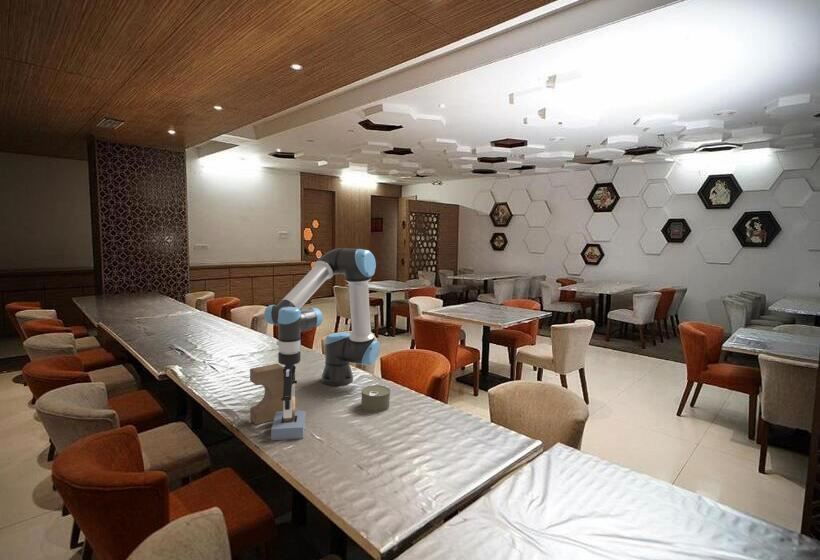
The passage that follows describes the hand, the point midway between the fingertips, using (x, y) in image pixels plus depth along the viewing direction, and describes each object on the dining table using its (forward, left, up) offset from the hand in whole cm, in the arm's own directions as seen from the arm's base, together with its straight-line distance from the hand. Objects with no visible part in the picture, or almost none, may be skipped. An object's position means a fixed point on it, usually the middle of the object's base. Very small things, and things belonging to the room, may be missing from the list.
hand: (289, 409), depth 148 cm
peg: (0, 0, -8) cm, 8 cm away
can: (-33, -17, -8) cm, 38 cm away
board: (0, 0, -8) cm, 8 cm away
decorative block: (+9, -10, -8) cm, 16 cm away
